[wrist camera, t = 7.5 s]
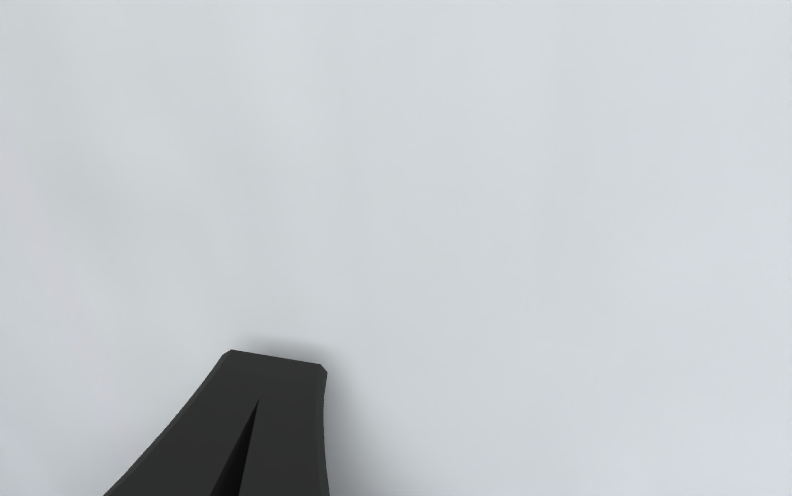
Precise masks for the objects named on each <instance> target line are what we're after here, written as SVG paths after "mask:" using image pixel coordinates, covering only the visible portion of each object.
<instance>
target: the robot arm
mask: <svg viewBox="0 0 792 496" xmlns="http://www.w3.org/2000/svg"><path fill="white" fill-rule="evenodd" d="M326 379H327V371H326V370H325V369H324V368H323V367H322V366H321V364H315V363H309V362H303V361H297V360H291V359H285V358H279V357H273V356H267V355H261V354H255V353H249V352H243V351H237V350H230V351H228V352H226V353H225V354H223V355H222V356H221V358H220V359H219V361H218V362H217V364H216V365H215V367H214V368H213V369H212V371H211V372H210V373H209V375H208V376H207V377H206V379H205V380H204V381H203V383H202V384H201V385H200V387H199V388H198V389H197V391H196V392H195V393H194V394H193V396H192V397H191V398H190V399H189V401H188V402H187V403H186V404H185V406H184V407H183V408H182V409H181V410H180V412H179V413H178V414H177V415H176V416H175V418H174V419H173V420H172V421H171V422H170V424H169V425H168V426H167V427H166V428H165V429H164V430H163V432H162V433H161V434H160V435H159V436H158V437H157V438H156V439H155V441H154V442H153V443H152V444H151V445H150V446H149V447H148V448H147V450H146V451H145V452H144V453H143V454H142V455H141V456H140V457H139V459H138V460H137V461H136V462H135V463H134V464H133V465H132V466H131V467H130V469H129V470H128V471H127V472H126V473H125V474H124V475H123V476H122V477H121V478H120V479H119V480H118V481H117V482H116V483H115V484H114V485H113V486H112V487H111V488H110V489H109V490H108V491H107V492H106V493H105V494H104V495H103V496H330V494H329V486H328V479H327V471H326V460H325V447H324V426H323V407H324V393H325V386H326Z"/></svg>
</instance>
